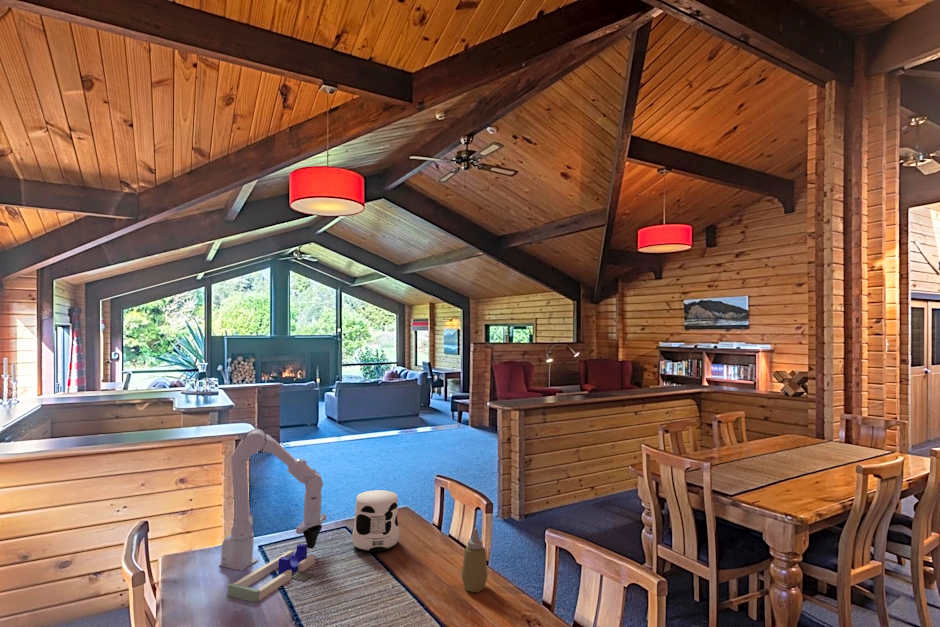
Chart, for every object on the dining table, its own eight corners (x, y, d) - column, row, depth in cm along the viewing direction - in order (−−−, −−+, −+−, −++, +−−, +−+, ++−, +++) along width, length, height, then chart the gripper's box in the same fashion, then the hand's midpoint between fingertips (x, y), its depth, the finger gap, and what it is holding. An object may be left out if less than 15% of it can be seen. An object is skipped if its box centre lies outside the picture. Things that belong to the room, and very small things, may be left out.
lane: (227, 595, 144) (227, 585, 144) (289, 557, 169) (289, 548, 169) (256, 602, 140) (256, 591, 140) (315, 562, 166) (315, 553, 166)
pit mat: (291, 578, 155) (291, 578, 155) (301, 571, 159) (301, 571, 159) (304, 581, 153) (304, 581, 153) (314, 574, 158) (314, 573, 158)
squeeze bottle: (490, 584, 154) (491, 526, 155) (482, 597, 146) (484, 536, 147) (466, 580, 157) (467, 522, 158) (457, 592, 149) (459, 531, 150)
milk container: (376, 532, 193) (377, 486, 194) (408, 544, 183) (410, 495, 184) (341, 547, 179) (343, 497, 180) (374, 560, 169) (376, 507, 170)
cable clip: (294, 561, 167) (295, 543, 168) (306, 562, 166) (307, 544, 167) (273, 577, 156) (274, 558, 156) (286, 579, 155) (287, 559, 155)
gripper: (309, 516, 165) (307, 557, 164) (334, 503, 178) (332, 541, 178) (291, 513, 167) (289, 554, 166) (317, 500, 181) (316, 538, 180)
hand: (310, 547), depth 172 cm, fingers closed
